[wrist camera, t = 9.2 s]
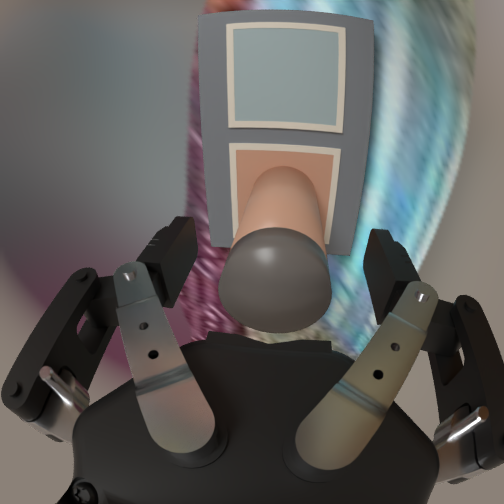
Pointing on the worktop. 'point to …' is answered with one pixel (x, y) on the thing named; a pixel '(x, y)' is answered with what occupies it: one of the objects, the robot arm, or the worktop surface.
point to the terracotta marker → (278, 257)
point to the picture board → (285, 111)
